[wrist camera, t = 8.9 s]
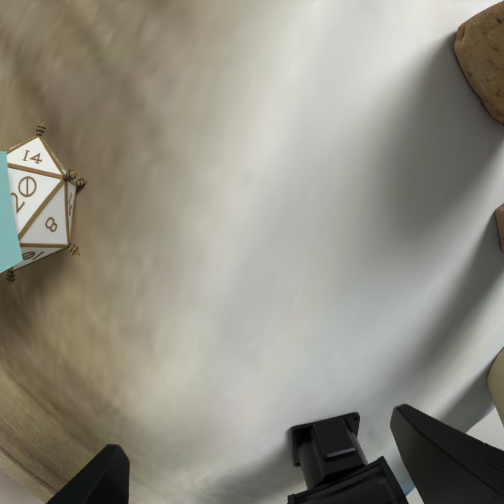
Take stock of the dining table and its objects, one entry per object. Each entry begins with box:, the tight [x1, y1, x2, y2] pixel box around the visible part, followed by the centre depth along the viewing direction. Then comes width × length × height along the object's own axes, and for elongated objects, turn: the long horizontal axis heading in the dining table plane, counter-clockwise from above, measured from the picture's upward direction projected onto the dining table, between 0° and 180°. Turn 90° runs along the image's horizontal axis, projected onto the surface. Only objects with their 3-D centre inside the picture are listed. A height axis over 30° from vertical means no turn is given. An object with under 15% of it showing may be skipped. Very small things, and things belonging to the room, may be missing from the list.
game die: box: [2, 121, 86, 286], centre depth 14 cm, size 9×8×10 cm
